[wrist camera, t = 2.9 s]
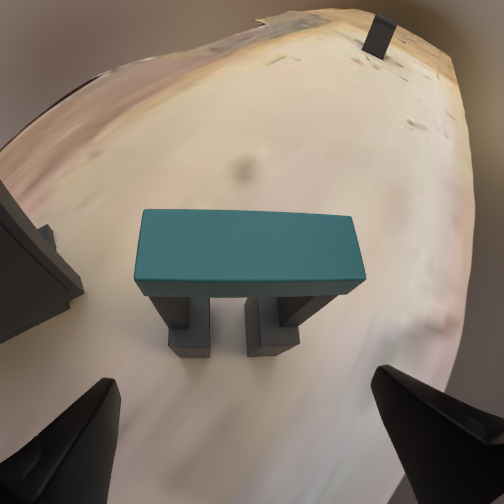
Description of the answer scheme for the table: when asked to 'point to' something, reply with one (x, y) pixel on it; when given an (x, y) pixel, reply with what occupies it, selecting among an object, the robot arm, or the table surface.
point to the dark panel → (30, 272)
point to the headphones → (244, 271)
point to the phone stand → (379, 36)
